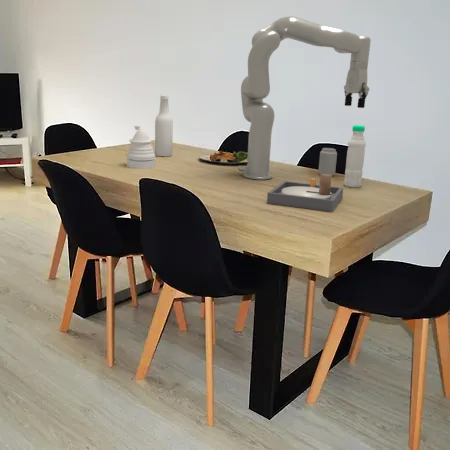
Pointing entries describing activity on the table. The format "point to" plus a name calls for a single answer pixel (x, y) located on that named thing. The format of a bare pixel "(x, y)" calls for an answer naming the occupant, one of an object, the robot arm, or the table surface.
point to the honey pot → (140, 151)
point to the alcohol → (163, 129)
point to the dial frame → (301, 201)
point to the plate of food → (226, 157)
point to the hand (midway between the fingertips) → (354, 106)
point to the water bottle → (355, 157)
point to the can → (327, 161)
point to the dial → (312, 189)
